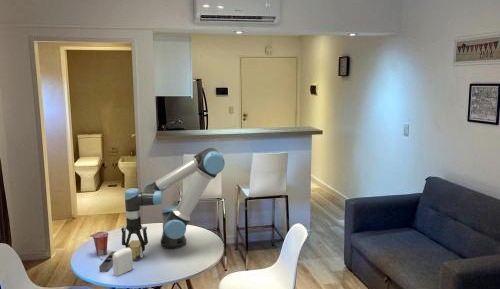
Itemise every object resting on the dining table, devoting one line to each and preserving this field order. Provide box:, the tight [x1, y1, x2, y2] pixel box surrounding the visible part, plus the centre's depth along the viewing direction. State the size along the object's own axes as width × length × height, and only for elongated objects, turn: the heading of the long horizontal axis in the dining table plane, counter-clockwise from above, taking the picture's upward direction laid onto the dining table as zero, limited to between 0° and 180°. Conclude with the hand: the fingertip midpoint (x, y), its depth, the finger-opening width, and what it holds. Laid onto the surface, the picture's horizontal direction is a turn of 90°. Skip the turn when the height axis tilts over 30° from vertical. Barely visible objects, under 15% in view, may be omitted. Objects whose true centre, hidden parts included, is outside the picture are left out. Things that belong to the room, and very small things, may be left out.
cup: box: [89, 231, 109, 257], centre depth 230 cm, size 9×8×12 cm
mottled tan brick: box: [127, 239, 141, 262], centre depth 226 cm, size 6×9×8 cm
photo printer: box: [112, 247, 134, 277], centre depth 210 cm, size 10×4×12 cm, turn 140°
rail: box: [98, 250, 118, 273], centre depth 220 cm, size 18×4×3 cm, turn 178°
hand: (135, 256), depth 226 cm, fingers closed on mottled tan brick, 6 cm apart
